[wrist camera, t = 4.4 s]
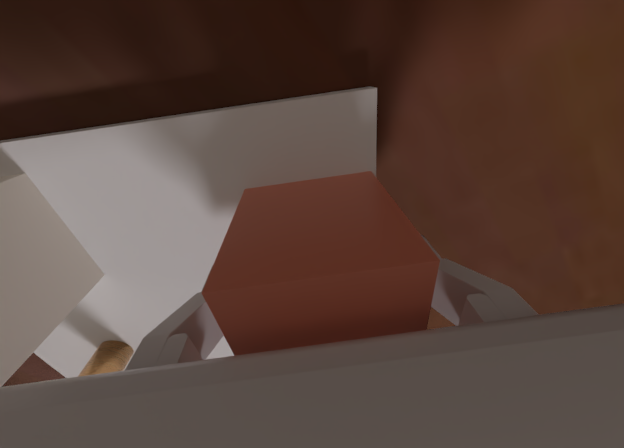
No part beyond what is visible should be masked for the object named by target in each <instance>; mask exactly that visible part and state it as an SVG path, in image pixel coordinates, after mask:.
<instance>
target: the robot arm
mask: <svg viewBox="0 0 624 448" xmlns="http://www.w3.org/2000/svg"><path fill="white" fill-rule="evenodd" d="M421 236H422V238H423V239H424V240H425V241H426V243H427V244H428V245H429V247H430V248H431V249H432V251H433V252H434V253H435V254H436V256H437V257H438V258H439V260H440V263H439V268H438V273H437V278H436V283H435V288H434V294H433V299H432V304H431V307H432V308H434V309H435V310H436V311H438V312H439V313H440V314H442V315H443V316H444V317H445V318H447V319H448V320H449V321H451V322H452V323H453V324H455V325H456V326H452V327H445V328H437V329H430V330H422V331H415V332H407V333H400V334H392V335H385V336H377V337H370V338H362V339H355V340H347V341H340V342H332V343H325V344H318V345H310V346H303V347H295V348H288V349H280V350H273V351H265V352H258V353H250V354H243V355H236V356H228V357H221V358H213V359H206V358H207V357H208V356H209V354H210V353H211V352H212V350H213V349H214V348H215V346H216V345H217V344H218V342H219V341H220V340H221V338H222V337H223V336H224V335H223V333H222V331H221V329H220V327H219V325H218V324H217V322H216V320H215V318H214V316H213V314H212V312H211V310H210V308H209V306H208V304H207V303H206V301H205V299H204V297H203V295H202V291H203V289H204V286H205V284H206V281H207V279H208V277H207V279H206V281H205V284H204V286H203V288H202V291H201V292H199V293H196V294H195V295H194V296H193V297H192V298H190V299H189V300H188V301H187V302H186V303H184V304H183V305H182V306H181V307H180V308H178V309H177V310H176V311H175V312H174V313H172V314H171V315H170V316H169V317H168V318H166V319H165V320H164V321H163V322H162V323H160V324H159V325H158V326H157V327H156V328H154V329H153V330H152V331H151V332H150V333H148V334H147V335H146V336H145V337H144V338H143V339H142V341H141V343H140V344H139V346H138V348H137V350H136V352H135V353H134V355H133V357H132V359H131V360H130V362H129V364H128V366H127V367H126V369H125V370H124V371H116V372H109V373H101V374H94V375H87V376H79V377H72V378H64V379H57V380H49V381H42V382H34V383H27V384H20V385H12V386H5V387H0V448H624V304H616V305H609V306H601V307H594V308H586V309H579V310H571V311H564V312H557V313H549V314H542V315H539V314H537V313H536V312H535V311H534V310H533V309H532V308H531V307H530V306H529V305H528V304H527V303H526V302H525V301H524V300H523V299H522V298H521V297H520V296H519V295H518V294H517V293H516V292H515V291H514V290H513V289H512V288H511V287H508V286H506V285H504V284H502V283H499V282H497V281H495V280H493V279H491V278H488V277H486V276H484V275H482V274H479V273H477V272H475V271H473V270H470V269H468V268H466V267H464V266H461V265H459V264H457V263H455V262H453V261H450V260H448V259H442V258H441V257H440V256H439V254H438V253H437V252H436V251H435V249H434V248H433V247H432V246H431V245H430V243H429V242H428V241H427V240H426V238H425V237H424V236H423V235H421ZM212 267H213V265H212ZM212 267H211V269H212ZM210 272H211V270H210ZM210 272H209V274H210ZM209 274H208V276H209Z"/></svg>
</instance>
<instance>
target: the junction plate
mask: <svg viewBox="0 0 624 448" xmlns="http://www.w3.org/2000/svg"><path fill="white" fill-rule="evenodd" d="M376 139H377V88H376V87H371V86H369V87H362V88H355V89H349V90H342V91H335V92H328V93H321V94H315V95H308V96H301V97H294V98H287V99H281V100H274V101H267V102H260V103H253V104H247V105H240V106H233V107H226V108H219V109H212V110H206V111H199V112H192V113H185V114H178V115H172V116H165V117H158V118H151V119H144V120H138V121H131V122H124V123H117V124H110V125H104V126H97V127H90V128H83V129H76V130H69V131H63V132H56V133H49V134H42V135H35V136H29V137H22V138H15V139H8V140H1V141H0V177H2V176H9V175H16V174H23V173H26V174H27V176H28V177H29V178H30V179H31V181H32V182H33V183H34V185H35V186H36V187H37V188H38V190H39V191H40V192H41V194H42V195H43V196H44V197H45V199H46V200H47V201H48V203H49V204H50V205H51V206H52V208H53V209H54V210H55V212H56V213H57V214H58V215H59V217H60V218H61V219H62V220H63V222H64V223H65V224H66V226H67V227H68V228H69V229H70V231H71V232H72V233H73V235H74V236H75V237H76V238H77V240H78V241H79V242H80V244H81V245H82V246H83V247H84V249H85V250H86V251H87V253H88V254H89V255H90V256H91V258H92V259H93V260H94V262H95V263H96V264H97V265H98V267H99V268H100V269H101V270H102V272H103V273H104V274H105V275H104V276H103V277H102V278H101V280H100V281H99V282H98V283H97V284H96V285H95V286H94V287H93V288H92V289H91V290H90V291H89V293H88V294H87V295H86V296H85V297H84V298H83V299H82V300H81V301H80V302H79V303H78V304H77V306H76V307H75V308H74V309H73V310H72V311H71V312H70V313H69V314H68V315H67V316H66V317H65V319H64V320H63V321H62V322H61V323H60V324H59V325H58V326H57V327H56V328H55V329H54V330H53V331H52V333H51V334H50V335H49V336H48V337H47V338H46V339H45V340H44V341H43V342H42V343H41V344H40V346H39V347H38V348H37V349H36V350H35V351H34V352H33V353H35V354H36V355H37V356H39V357H40V358H41V359H42V360H44V361H45V362H46V363H48V364H49V365H50V366H51V367H53V368H54V369H55V370H57V371H58V372H59V373H60V374H62V375H63V376H64V377H66V378H72V377H78V375H79V374H80V372H81V371H82V370H83V368H84V367H85V365H86V364H87V363H88V361H89V360H90V358H91V357H92V355H93V354H94V353H95V351H96V350H97V348H98V347H99V346H100V344H101V343H102V342H104V341H109V340H115V341H121V342H124V343H126V344H128V345H130V346H131V347H132V348H133V350H134V353H135V352H136V350H137V348H138V346H139V344H140V343H141V341H142V339H143V338H144V337H145V336H146V335H147V334H148V333H150V332H151V331H152V330H153V329H154V328H156V327H157V326H158V325H159V324H160V323H162V322H163V321H164V320H165V319H166V318H168V317H169V316H170V315H171V314H172V313H174V312H175V311H176V310H177V309H178V308H180V307H181V306H182V305H183V304H184V303H186V302H187V301H188V300H189V299H190V298H192V297H193V296H194V295H195V294H196V293H199V292H201V291H202V288H203V286H204V284H205V281H206V279H207V277H208V274H209V272H210V270H211V267H212V265H213V264H214V262H215V260H216V257H217V255H218V252H219V250H220V247H221V245H222V243H223V240H224V238H225V235H226V233H227V231H228V228H229V226H230V223H231V221H232V219H233V216H234V214H235V211H236V209H237V206H238V204H239V202H240V199H241V197H242V194H243V192H244V190H245V189H248V188H255V187H262V186H269V185H276V184H283V183H290V182H297V181H304V180H311V179H318V178H325V177H332V176H339V175H346V174H353V173H360V172H367V171H371V172H372V173H373V174H374V175H375V177H376ZM134 353H133V355H134ZM133 355H132V357H133ZM228 356H234V354H233V352H232V350H231V348H230V346H229V344H228V343H227V341H226V339H225V337H224V336H223V337H222V338H221V340H220V341H219V342H218V344H217V345H216V346H215V348H214V349H213V350H212V352H211V353H210V354H209V356H208V357H207V358H206V359H213V358H221V357H228ZM132 357H131V358H130V360H131V359H132ZM130 360H129V362H130ZM129 362H128V364H129ZM128 364H127V365H126V367H127V366H128ZM126 367H125V369H126ZM125 369H124V370H125Z"/></svg>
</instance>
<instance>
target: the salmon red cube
mask: <svg viewBox="0 0 624 448" xmlns="http://www.w3.org/2000/svg"><path fill="white" fill-rule="evenodd" d="M439 263H440V260H439V258H438V257H437V256H436V254H435V253H434V252H433V251H432V249H431V248H430V247H429V245H428V244H427V243H426V241H425V240H424V239H423V238H422V236H421V235H420V234H419V232H418V231H417V230H416V229H415V227H414V226H413V225H412V223H411V222H410V221H409V219H408V218H407V217H406V216H405V214H404V213H403V212H402V210H401V209H400V208H399V206H398V205H397V204H396V203H395V201H394V200H393V199H392V197H391V196H390V195H389V194H388V192H387V191H386V190H385V188H384V187H383V186H382V184H381V183H380V182H379V181H378V179H377V178H376V177H375V175H374V174H373V173H372V172H371V171H367V172H360V173H353V174H346V175H339V176H332V177H325V178H318V179H311V180H304V181H297V182H290V183H283V184H276V185H269V186H262V187H255V188H248V189H245V190H244V192H243V194H242V197H241V199H240V202H239V204H238V206H237V209H236V211H235V214H234V216H233V219H232V221H231V223H230V226H229V228H228V231H227V233H226V235H225V238H224V240H223V243H222V245H221V247H220V250H219V252H218V255H217V257H216V260H215V262H214V264H213V267H212V269H211V272H210V274H209V276H208V279H207V281H206V284H205V286H204V289H203V291H202V295H203V297H204V299H205V301H206V303H207V304H208V306H209V308H210V310H211V312H212V314H213V316H214V318H215V320H216V322H217V324H218V325H219V327H220V329H221V331H222V333H223V335H224V337H225V339H226V341H227V343H228V344H229V346H230V348H231V350H232V352H233V354H234V356H236V355H243V354H250V353H258V352H265V351H273V350H280V349H288V348H295V347H303V346H310V345H318V344H325V343H332V342H340V341H347V340H355V339H362V338H370V337H377V336H385V335H392V334H400V333H407V332H415V331H422V330H426V329H427V324H428V319H429V314H430V309H431V304H432V299H433V294H434V288H435V283H436V278H437V273H438V268H439Z"/></svg>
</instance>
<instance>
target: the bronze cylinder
mask: <svg viewBox="0 0 624 448" xmlns="http://www.w3.org/2000/svg"><path fill="white" fill-rule="evenodd" d="M133 353H134V350H133V348H132V347H131V346H130V345H128V344H126V343H124V342H121V341H115V340H109V341H104V342H102V343H101V344H100V346H99V347H98V348H97V350H96V351H95V353H94V354H93V355H92V357H91V358H90V360H89V361H88V363H87V364H86V365H85V367H84V368H83V370H82V371H81V372H80V374H79V375H78V377H79V376H87V375H94V374H101V373H109V372H116V371H124V369H125V367H126V365H127V364H128V362H129V360H130V358H131V357H132V355H133Z"/></svg>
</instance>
